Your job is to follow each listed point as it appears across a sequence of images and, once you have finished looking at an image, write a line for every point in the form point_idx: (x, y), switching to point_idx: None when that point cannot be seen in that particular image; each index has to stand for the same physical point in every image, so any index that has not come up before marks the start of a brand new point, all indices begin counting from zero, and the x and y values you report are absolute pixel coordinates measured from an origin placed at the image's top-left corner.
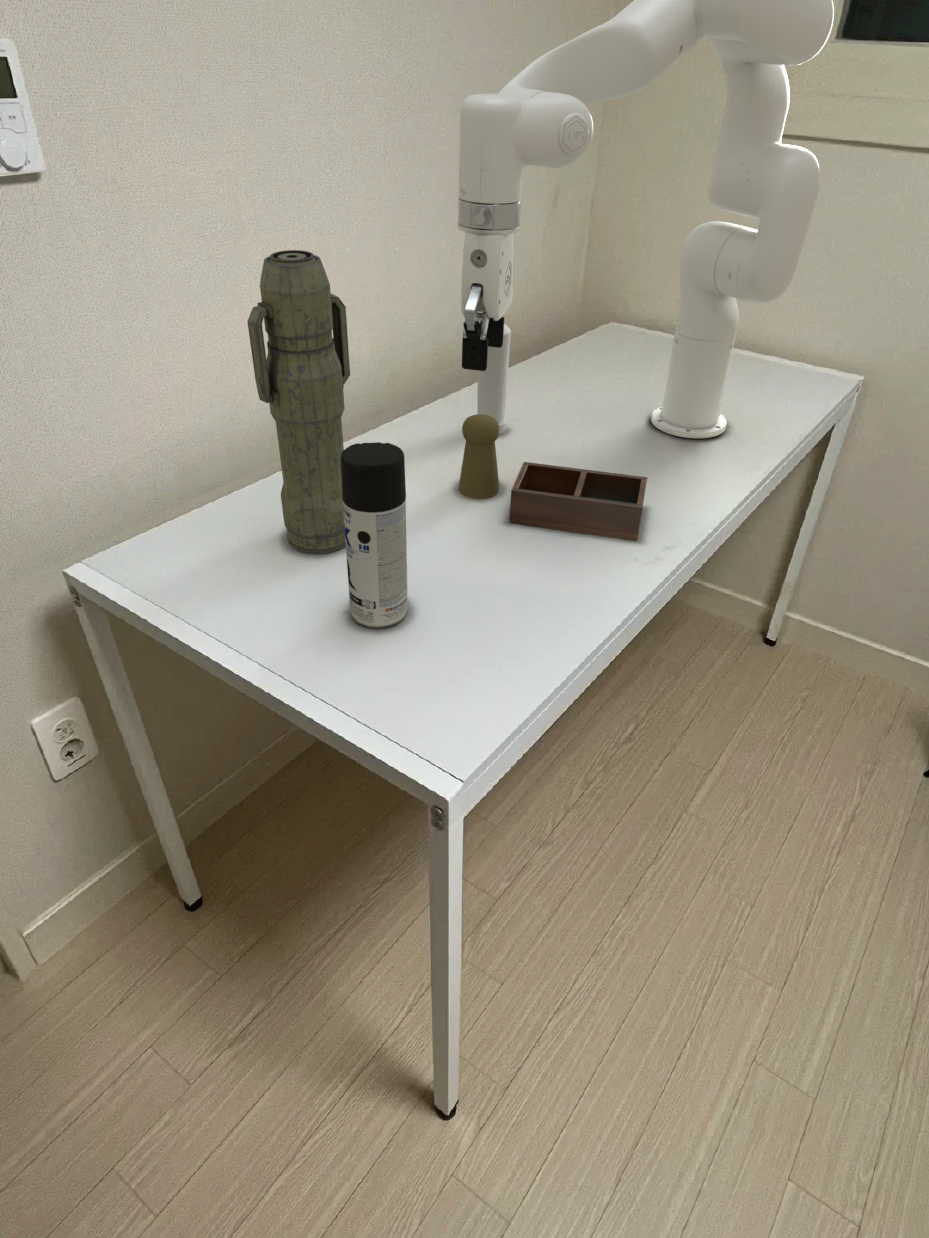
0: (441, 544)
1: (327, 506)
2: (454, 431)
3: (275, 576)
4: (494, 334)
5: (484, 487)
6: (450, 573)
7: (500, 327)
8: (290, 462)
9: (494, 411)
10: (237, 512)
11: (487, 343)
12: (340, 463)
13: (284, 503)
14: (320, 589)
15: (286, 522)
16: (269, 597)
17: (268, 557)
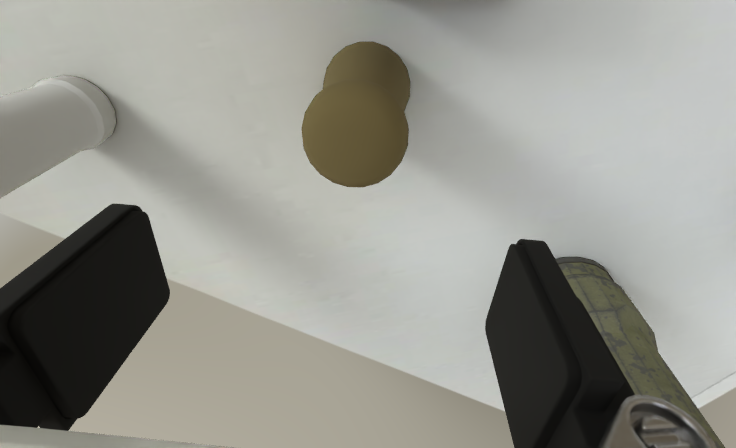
0: (598, 123)
1: (650, 331)
2: (132, 179)
3: (662, 316)
4: (115, 282)
5: (404, 76)
6: (712, 87)
7: (68, 286)
8: None
9: (65, 115)
10: (492, 380)
11: (605, 355)
12: (655, 375)
13: None
14: (711, 264)
15: None
16: (715, 310)
17: None
